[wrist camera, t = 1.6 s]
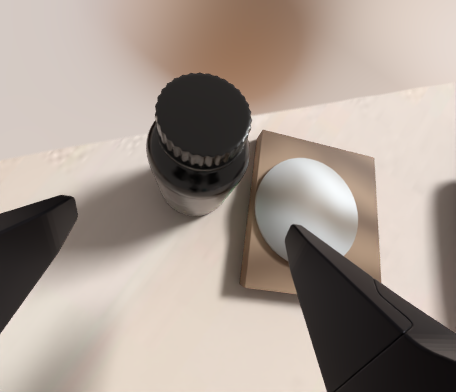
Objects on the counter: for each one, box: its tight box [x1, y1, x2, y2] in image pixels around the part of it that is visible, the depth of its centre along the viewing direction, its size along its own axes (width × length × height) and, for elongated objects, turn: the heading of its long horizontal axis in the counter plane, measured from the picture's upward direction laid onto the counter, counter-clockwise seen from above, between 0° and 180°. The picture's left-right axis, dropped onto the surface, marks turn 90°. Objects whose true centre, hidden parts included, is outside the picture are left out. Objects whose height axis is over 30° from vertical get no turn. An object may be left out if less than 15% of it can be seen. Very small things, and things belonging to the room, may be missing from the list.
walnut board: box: [240, 130, 381, 294], centre depth 22 cm, size 16×14×3 cm
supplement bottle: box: [146, 73, 252, 216], centre depth 16 cm, size 7×7×12 cm
